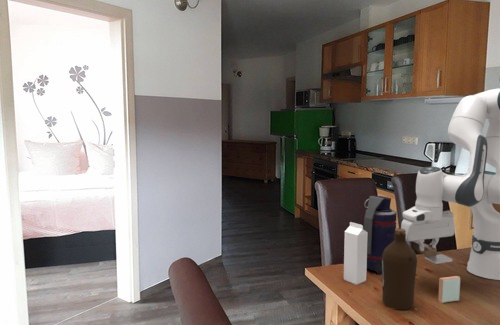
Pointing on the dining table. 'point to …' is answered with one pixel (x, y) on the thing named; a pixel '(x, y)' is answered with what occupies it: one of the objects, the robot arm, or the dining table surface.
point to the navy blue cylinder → (378, 229)
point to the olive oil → (399, 273)
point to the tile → (449, 289)
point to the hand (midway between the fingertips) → (427, 249)
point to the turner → (431, 253)
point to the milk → (355, 254)
